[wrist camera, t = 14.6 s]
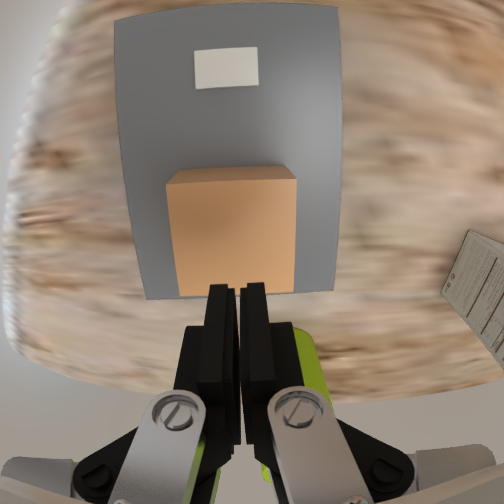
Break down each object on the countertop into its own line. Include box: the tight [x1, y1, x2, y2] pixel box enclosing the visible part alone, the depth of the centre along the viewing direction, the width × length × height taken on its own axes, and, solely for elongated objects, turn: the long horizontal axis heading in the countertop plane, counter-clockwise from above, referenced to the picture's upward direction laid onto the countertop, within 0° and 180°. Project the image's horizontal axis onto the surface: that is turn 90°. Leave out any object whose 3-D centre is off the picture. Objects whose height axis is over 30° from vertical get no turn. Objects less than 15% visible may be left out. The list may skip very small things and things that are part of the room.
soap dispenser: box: [261, 328, 335, 483], centre depth 20 cm, size 6×7×20 cm
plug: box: [166, 166, 297, 296], centre depth 20 cm, size 7×7×7 cm
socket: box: [114, 3, 342, 300], centre depth 20 cm, size 20×14×4 cm
